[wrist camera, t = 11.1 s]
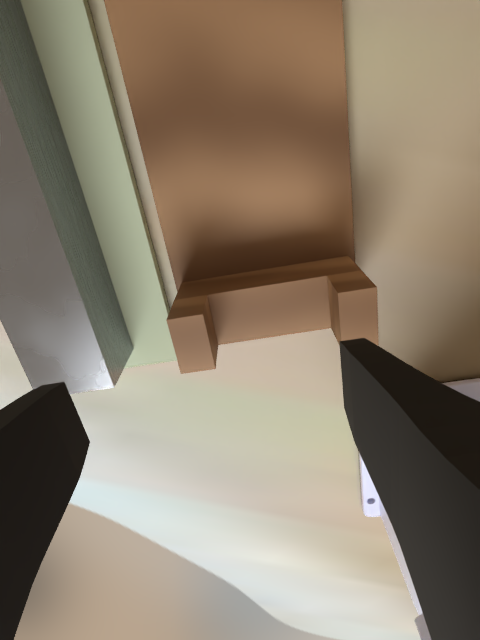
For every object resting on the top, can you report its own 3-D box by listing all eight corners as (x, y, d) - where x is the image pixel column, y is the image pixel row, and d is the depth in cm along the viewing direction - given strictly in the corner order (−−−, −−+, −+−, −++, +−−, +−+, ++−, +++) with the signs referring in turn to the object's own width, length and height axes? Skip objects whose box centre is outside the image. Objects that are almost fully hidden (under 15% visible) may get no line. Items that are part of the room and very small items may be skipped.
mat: (181, 354, 21) (180, 360, 21) (39, 375, 22) (34, 381, 21) (41, -172, 13) (32, -186, 12) (-181, -116, 13) (-199, -126, 13)
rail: (133, 348, 20) (113, 387, 17) (69, 358, 21) (37, 398, 17) (-22, -129, 13) (-108, -216, 10) (-120, -104, 13) (-235, -181, 10)
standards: (353, 311, 20) (386, 361, 15) (192, 335, 21) (178, 391, 16) (325, -198, 13) (373, -387, 8) (75, -136, 13) (-12, -279, 9)
